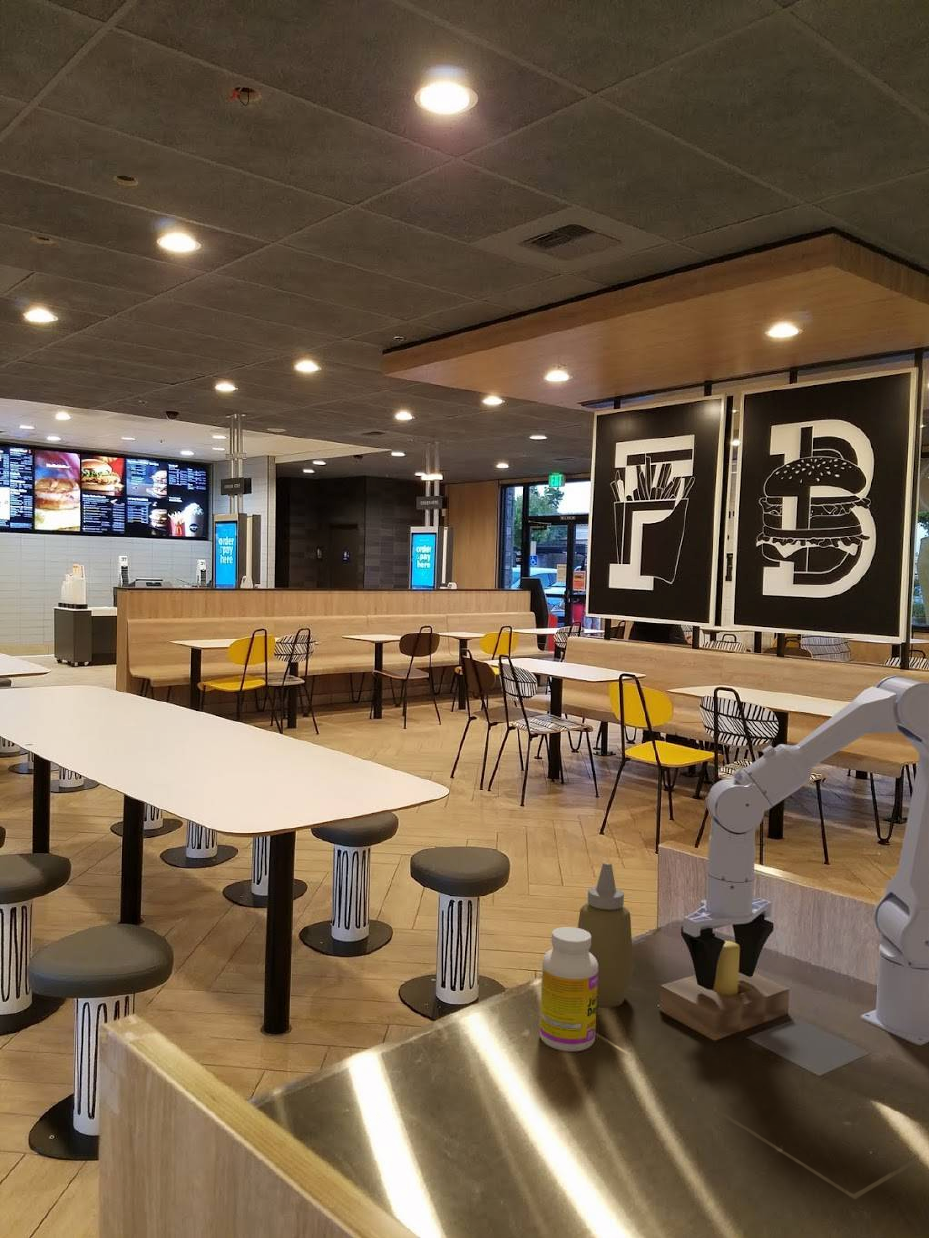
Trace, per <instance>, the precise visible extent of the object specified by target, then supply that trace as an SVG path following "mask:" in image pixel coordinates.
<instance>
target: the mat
mask: <svg viewBox="0 0 929 1238" xmlns="http://www.w3.org/2000/svg"><path fill="white" fill-rule="evenodd" d="M746 1039H747V1040H750V1041H752V1042H754V1043H755V1044H757V1045H759V1046H761V1047H763V1048H765V1049H766V1050H768V1051H771V1052H772V1053H774V1054H776V1055H777V1056H780V1057H782V1058H784V1059H785V1060H787V1061H789V1062H791V1063H793V1064H795V1065H796V1066H799V1067H800V1068H803V1069H804V1070H806V1071H808V1072H810V1073H812V1074H814V1075H815V1076H817V1077H821V1076H824V1075H825V1074H828V1073H830V1072H833V1071H835V1070H837V1069H839V1068H841V1067H844V1066H845V1065H847V1064H850V1063H852V1062H854V1061H857V1060H860V1059H861V1058H864V1057H866V1056H868V1055H871V1052H869V1051H867V1050H865V1049H863V1048H861V1047H859V1046H858V1045H855V1044H853V1043H851V1042H849V1041H847V1040H845V1039H843V1038H840V1037H838V1036H836V1035H835V1034H831V1032H828V1031H827V1030H824V1029H821V1028H820V1027H818V1026H815V1025H814V1024H811V1023H809V1022H808V1021H805V1020H803V1019H801V1018H799V1017H796V1018H794V1019H792V1020H789V1021H787V1022H786V1021H785V1022H784V1023H781V1024H779V1025H776V1026H773V1027H770V1028H768V1029H765V1030H763V1031H760V1032H757V1033H755V1034H752V1035H749V1036H747V1037H746Z"/></svg>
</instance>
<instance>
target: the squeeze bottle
mask: <svg viewBox="0 0 929 1238" xmlns="http://www.w3.org/2000/svg"><path fill="white" fill-rule="evenodd" d="M613 869H614V868H613V864H612V863H610V862H603V863H602V864H601V869H600V872H599V875H598V881H597V883H596V884H597V885H596V886H592V887H590V888H589V889H588V891H587V903H585V904H583V905H582V906H581V908H580V909H579V917H578V923H577V928H580V929H583V930H585V931H587V932H589V933H590V934H591V947H590V949H589V953H591V954H592V955H593V956H594V957H595V958H596V960H597V963H598V982H597V1007H598V1008H615V1007H618V1006H620V1005H623V1003H624V1001H625V999H626V997H627V995H628V991H629V989H630V987H631V984H632V980H633V979H634V976H635V974H634V956H633V955H634V954H633V953H634V952H633V939H632V937H633V935H632V925H631V924H632V922H631V921H632V920H631V919H632V917H631V913H630V911H629V909H627V908H626V907H625V906H624V903H625V902H624V900H625V893H624V891H623V890H622V889H619V888H616V886H617V885H616V881H615V876H614V870H613Z"/></svg>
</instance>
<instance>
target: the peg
mask: <svg viewBox="0 0 929 1238" xmlns="http://www.w3.org/2000/svg"><path fill="white" fill-rule="evenodd" d="M724 941H725V944H724V946H723V948H722V950H721V953H720V956H719V959H718V963H717V970H716V979H715V984H714V987H713V991H714V992H716V993H718V994H720V995H722V996H724V997H726V998H728V997H731V996H734V995H737V994H738V976H739V955H740V946H739V945H738V944H736V943H735V941H731V940H730V941H729V940H724Z"/></svg>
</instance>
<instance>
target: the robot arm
mask: <svg viewBox="0 0 929 1238" xmlns="http://www.w3.org/2000/svg"><path fill="white" fill-rule="evenodd" d="M899 732H900V733H901V735H903V737H904V738H905V739H906V740H907V741H908V742H909V743H910V744H911V746H912V747H913V748H914V750H915V751H916V752H917V753H918V756H919V757H918V761H917V767H916V772H915V778H914V783H913V788H912V794H911V799H910V802H909V803H910V804H909V809H908V815H907V820H906V826H905V831H904V836H903V841H902V846H901V852H900V857H899V861H898V862H899V863H898V868H897V872H896V874H895V875H894V876H893V877H892V878H891V879H889V880H888V881H887V882H886V886H885V891H884V893H883V894H882V897H881V899H880V900H878V901H877V903H876V905H875V906H874V909H873V913H872V914H873V923H874V925H875V928H876V930H877V931H878V932H879V933H880V935H881V942H880V944H879V948H878V949H879V950H878V964H877V965H878V966H877V983H876V984H877V985H876V988H877V989H876V1002H875V1009H873V1010H871V1011H868V1012H866V1013H863V1014H861V1015H860V1019H861V1021H863V1022H866V1023H868V1024H870V1025H873V1026H874V1027H877V1028H879V1029H882V1030H883V1031H886V1032H888V1033H891V1034H893V1035H894V1036H897V1037H899V1038H901V1039H904V1040H906V1041H908V1042H911V1043H913V1044H914V1045H917V1046H923V1045H925V1044H927V1043H929V682H923V681H918V680H914V679H912V678H909V677H907V676H906V677H905V676H904V675H898V674H897V675H889V676H887V677H884V678H882V679H881V680H879V681H878V683H877V684H876V685H875V686H870V687H868V688H866V689H864V690H862V691H861V693H860V694H858V696H856V697H855V698H854V699H853V700H852V701H851V702H849V703H848V704H847V705H845V706H844V707H843V708H842V709H840V710H839V711H838V712H836V713H835V714H833V716H831V717H830V718H829V719H827V720H826V721H825V722H823V723H822V724H821V725H819V726H818V727H817V728H815V730H813V731H812V732H811V733H809V734H808V735H807V736H805V737H804V738H803V739H801V741H799V742H798V743H797V744H795V745H789V744H784V743H780V744H777V745H776V747H774V746H771V745H768V746H766V747H765V748H763V749H762V750H761V751H762V754H763V755H761V757H759V758H757V759H756V760H755V761H754V762H752V763H750V764H749V765H747V766H746V767H745V768H743V769H742V770H741V771H740V770H739V769H736V770H734V771H733V772H732V773H731V775H732V777H733V778H729V779H726V778H724V779H721V780H719V781H717V782H716V783H714V784H713V786H712V787H711V788H710V790H709V792H708V794H707V796H706V797H705V805H706V808H707V810H708V813H709V814H710V815H711V817H710V826H709V836H708V848H707V850H708V851H707V853H708V854H707V866H706V867H707V871H706V874H707V875H706V892H705V894H706V895H705V899H703V900H701V901H700V908H698V909H697V910H695V911H694V912H693V913H691V914H689V915H685V916H684V917H683V925H682V926H681V928H680V935H681V937H682V939H683V940H684V942H685V945H686V946H687V949H688V951H689V955H690V958H691V961H692V964H693V970H694V975H696V979H697V984H698V985H700V986H702V987H704V988H706V989H708V990H711V989H713V987H714V984H715V979H716V970H717V963H718V959H719V956H720V953H721V950H722V948H723V946H724V944H725V941H726V940H723V939H721V938H720V937H717V936H716V934H715V932H714V933H713V930H716V929H720V928H724V927H726V926H732V930H733V934H734V943H736V944H738V945H739V946H740V955H739V973H742V974H744V975H746V976H748V977H752V976H753V974H754V973H755V970H756V966H757V964H758V961H759V958H760V955H761V953H762V951H763V947H765V944H766V942H767V940H768V938H769V937H770V935H772V933H773V932H774V928H775V927H774V923H773V922H772V921H770V920H768V919H765V918H770V917H772V916H771V914H772V913H771V912H772V902H771V901H769V900H766V899H763V898H760V897H757V898H754V897H753V896H754V884H755V882H754V881H755V880H754V879H755V863H756V862H755V860H756V858H755V857H756V841H755V839H756V828H758V827H759V826H760V824H761V823H762V821H763V819H764V816H765V815H764V814H765V812H766V811H768V810H770V809H772V808H773V807H775V806H776V805H777V804H780V802H782V801H783V800H784V799H786V798H788V797H789V796H791V795H793V794H794V793H795V792H796V791H798V790H799V789H801V788H802V787H803V786H805V785H806V784H808V783H810V781H811V776H812V771H813V767H815V766H816V765H818V764H820V763H821V762H823V761H824V760H827V759H828V758H829V757H831V756H833V755H834V754H836V753H837V752H839V751H841V750H842V749H843V748H846V747H848V746H849V745H851V744H852V743H854V742H855V741H857V740H859V739H860V738H861V737H863V736H865V735H867V734H876V733H877V734H897V733H899Z"/></svg>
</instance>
